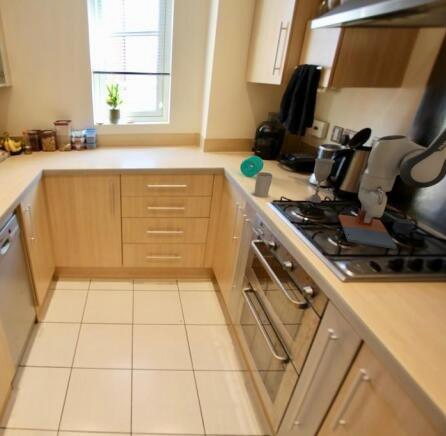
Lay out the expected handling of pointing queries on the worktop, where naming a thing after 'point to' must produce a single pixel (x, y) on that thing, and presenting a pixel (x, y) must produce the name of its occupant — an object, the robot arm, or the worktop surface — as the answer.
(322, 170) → the chalice
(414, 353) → the worktop surface
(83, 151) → the worktop surface
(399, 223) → the slate block
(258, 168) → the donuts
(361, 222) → the terracotta block
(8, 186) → the worktop surface
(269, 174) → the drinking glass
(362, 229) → the board
